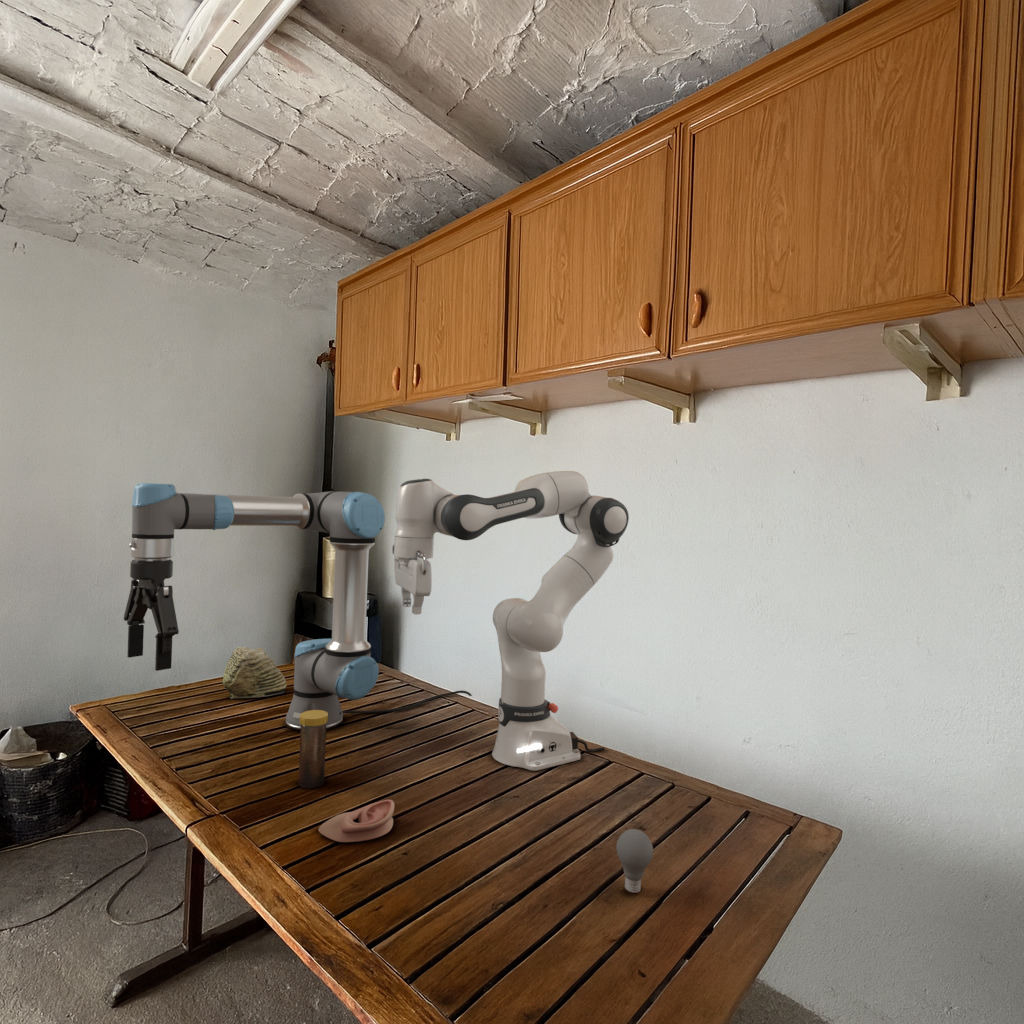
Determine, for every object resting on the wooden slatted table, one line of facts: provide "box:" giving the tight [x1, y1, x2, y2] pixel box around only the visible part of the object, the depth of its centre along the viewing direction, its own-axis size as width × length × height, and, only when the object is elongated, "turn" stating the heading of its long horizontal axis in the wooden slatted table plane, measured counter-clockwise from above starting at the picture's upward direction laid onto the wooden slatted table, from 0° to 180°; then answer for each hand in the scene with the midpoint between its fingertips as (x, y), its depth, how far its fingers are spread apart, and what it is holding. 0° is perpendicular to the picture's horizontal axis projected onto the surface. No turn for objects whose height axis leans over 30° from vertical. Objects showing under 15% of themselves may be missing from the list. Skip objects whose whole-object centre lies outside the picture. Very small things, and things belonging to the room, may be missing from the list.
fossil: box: [222, 646, 288, 699], centre depth 198 cm, size 9×18×15 cm, turn 132°
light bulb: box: [615, 828, 654, 894], centre depth 106 cm, size 6×6×10 cm
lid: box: [299, 710, 328, 726], centre depth 140 cm, size 6×6×2 cm
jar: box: [298, 722, 327, 789], centre depth 140 cm, size 5×5×15 cm
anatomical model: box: [317, 799, 395, 843], centre depth 122 cm, size 13×4×12 cm
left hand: (148, 662), depth 129 cm, fingers open, 13 cm apart
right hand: (411, 610), depth 144 cm, fingers open, 8 cm apart
